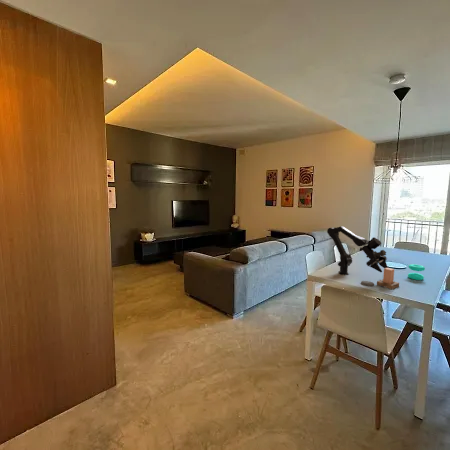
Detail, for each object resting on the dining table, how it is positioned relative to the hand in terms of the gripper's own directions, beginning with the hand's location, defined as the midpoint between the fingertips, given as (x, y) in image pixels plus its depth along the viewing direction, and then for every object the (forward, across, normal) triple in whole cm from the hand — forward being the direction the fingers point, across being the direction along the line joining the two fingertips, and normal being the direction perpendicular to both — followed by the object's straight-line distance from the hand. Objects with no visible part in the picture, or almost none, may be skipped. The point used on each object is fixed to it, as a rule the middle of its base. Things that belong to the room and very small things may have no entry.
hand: (384, 271), depth 182 cm
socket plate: (+9, 0, +5) cm, 10 cm away
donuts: (+12, +35, +3) cm, 37 cm away
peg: (+9, 0, +5) cm, 10 cm away
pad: (+2, -9, +12) cm, 15 cm away
